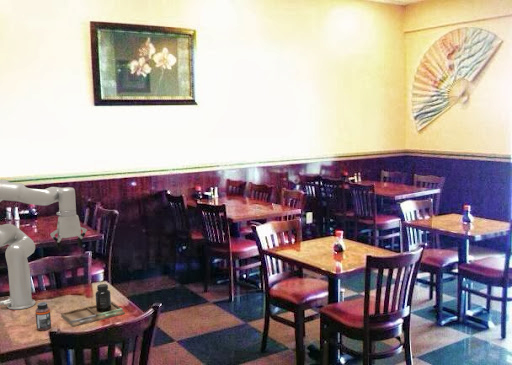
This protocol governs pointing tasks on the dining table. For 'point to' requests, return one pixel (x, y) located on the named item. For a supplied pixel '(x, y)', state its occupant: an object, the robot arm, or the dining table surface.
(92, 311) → the socket board
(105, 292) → the supplement bottle
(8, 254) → the robot arm
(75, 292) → the dining table surface
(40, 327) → the supplement bottle
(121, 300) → the dining table surface
